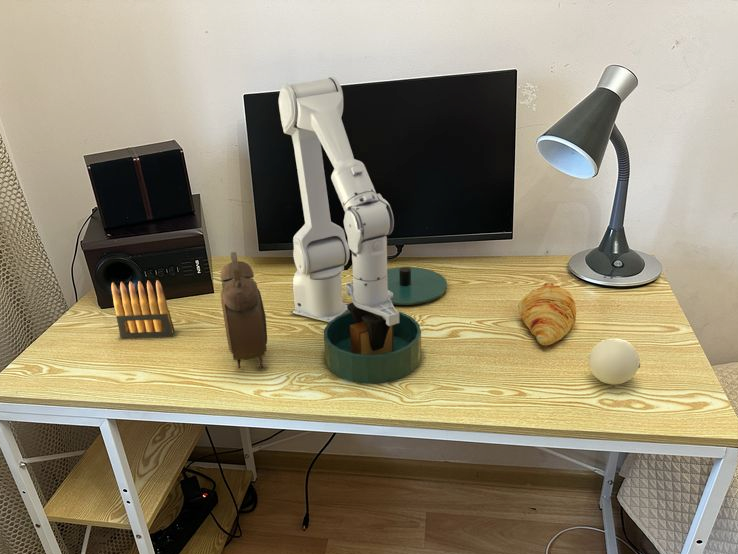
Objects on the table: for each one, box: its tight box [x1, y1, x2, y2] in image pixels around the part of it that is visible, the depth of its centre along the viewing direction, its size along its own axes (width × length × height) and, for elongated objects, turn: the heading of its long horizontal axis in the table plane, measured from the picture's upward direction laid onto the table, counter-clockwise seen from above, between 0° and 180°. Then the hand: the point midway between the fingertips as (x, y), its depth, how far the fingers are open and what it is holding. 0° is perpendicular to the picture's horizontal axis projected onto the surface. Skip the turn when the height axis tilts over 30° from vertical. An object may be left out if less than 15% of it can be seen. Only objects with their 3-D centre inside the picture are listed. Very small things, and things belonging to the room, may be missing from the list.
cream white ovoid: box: [588, 337, 641, 386], centre depth 102 cm, size 10×7×7 cm
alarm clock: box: [219, 251, 268, 370], centre depth 112 cm, size 14×7×20 cm, turn 9°
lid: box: [387, 266, 448, 306], centre depth 135 cm, size 17×17×4 cm
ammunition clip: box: [111, 279, 176, 340], centre depth 125 cm, size 11×2×12 cm, turn 86°
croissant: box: [517, 282, 577, 346], centre depth 118 cm, size 21×10×8 cm, turn 162°
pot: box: [323, 310, 422, 384], centre depth 113 cm, size 17×17×5 cm
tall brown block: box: [350, 321, 394, 355], centre depth 112 cm, size 3×7×6 cm, turn 116°
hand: (372, 344), depth 113 cm, fingers closed on tall brown block, 3 cm apart
